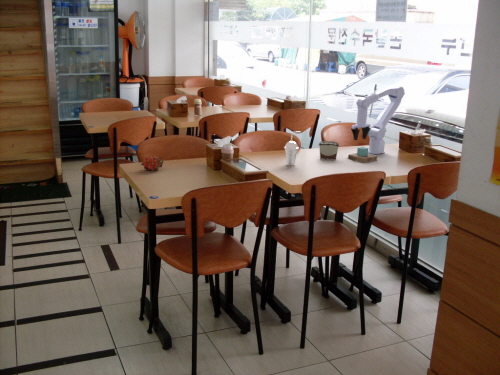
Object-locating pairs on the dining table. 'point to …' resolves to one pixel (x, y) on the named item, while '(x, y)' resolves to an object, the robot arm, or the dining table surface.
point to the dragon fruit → (152, 163)
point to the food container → (328, 150)
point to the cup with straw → (291, 151)
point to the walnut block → (362, 158)
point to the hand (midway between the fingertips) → (359, 139)
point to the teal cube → (362, 151)
